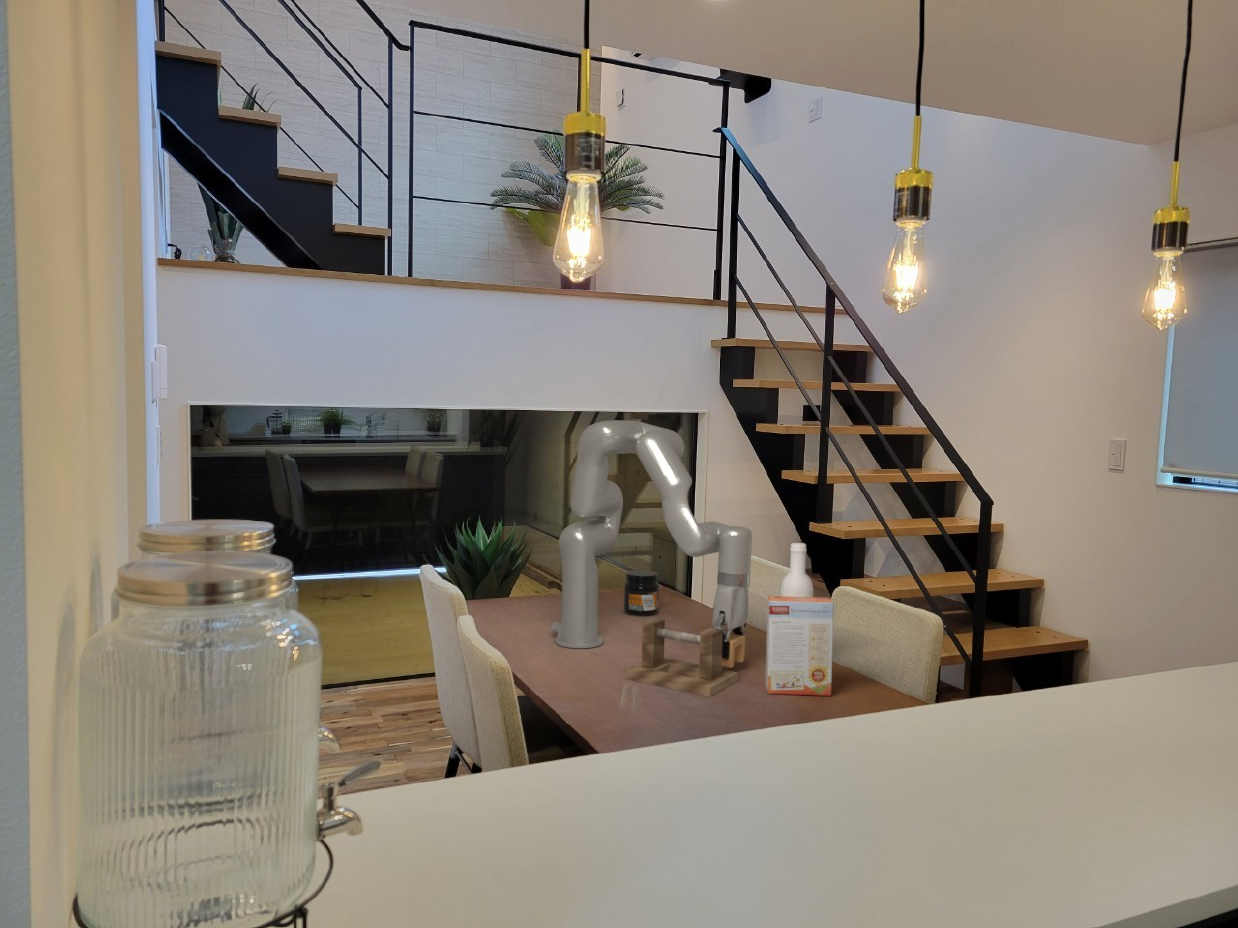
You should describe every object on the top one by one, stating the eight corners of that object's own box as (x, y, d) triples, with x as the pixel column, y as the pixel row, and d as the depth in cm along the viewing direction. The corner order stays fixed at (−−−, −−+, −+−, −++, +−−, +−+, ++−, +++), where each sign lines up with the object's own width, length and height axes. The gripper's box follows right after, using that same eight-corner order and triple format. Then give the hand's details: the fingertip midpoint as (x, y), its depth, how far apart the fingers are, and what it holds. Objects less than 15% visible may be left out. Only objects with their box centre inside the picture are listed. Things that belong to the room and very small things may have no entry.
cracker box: (827, 688, 205) (830, 596, 203) (831, 697, 199) (835, 602, 197) (764, 685, 206) (767, 594, 204) (766, 694, 200) (769, 600, 198)
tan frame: (623, 678, 209) (624, 624, 208) (655, 664, 221) (656, 613, 220) (709, 696, 197) (711, 639, 196) (737, 680, 209) (739, 627, 208)
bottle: (771, 666, 221) (775, 543, 219) (786, 659, 227) (790, 540, 225) (802, 673, 216) (806, 547, 214) (816, 665, 222) (821, 543, 220)
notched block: (711, 663, 214) (713, 638, 213) (724, 656, 220) (726, 632, 219) (731, 667, 211) (732, 642, 211) (743, 660, 217) (745, 636, 216)
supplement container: (652, 618, 268) (652, 577, 267) (618, 614, 271) (619, 574, 270) (663, 610, 277) (664, 571, 277) (630, 607, 281) (631, 568, 280)
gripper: (735, 571, 223) (731, 643, 224) (701, 582, 208) (698, 659, 210) (763, 576, 219) (759, 648, 220) (731, 587, 204) (727, 665, 206)
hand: (729, 653), depth 215 cm, fingers closed on notched block, 6 cm apart
